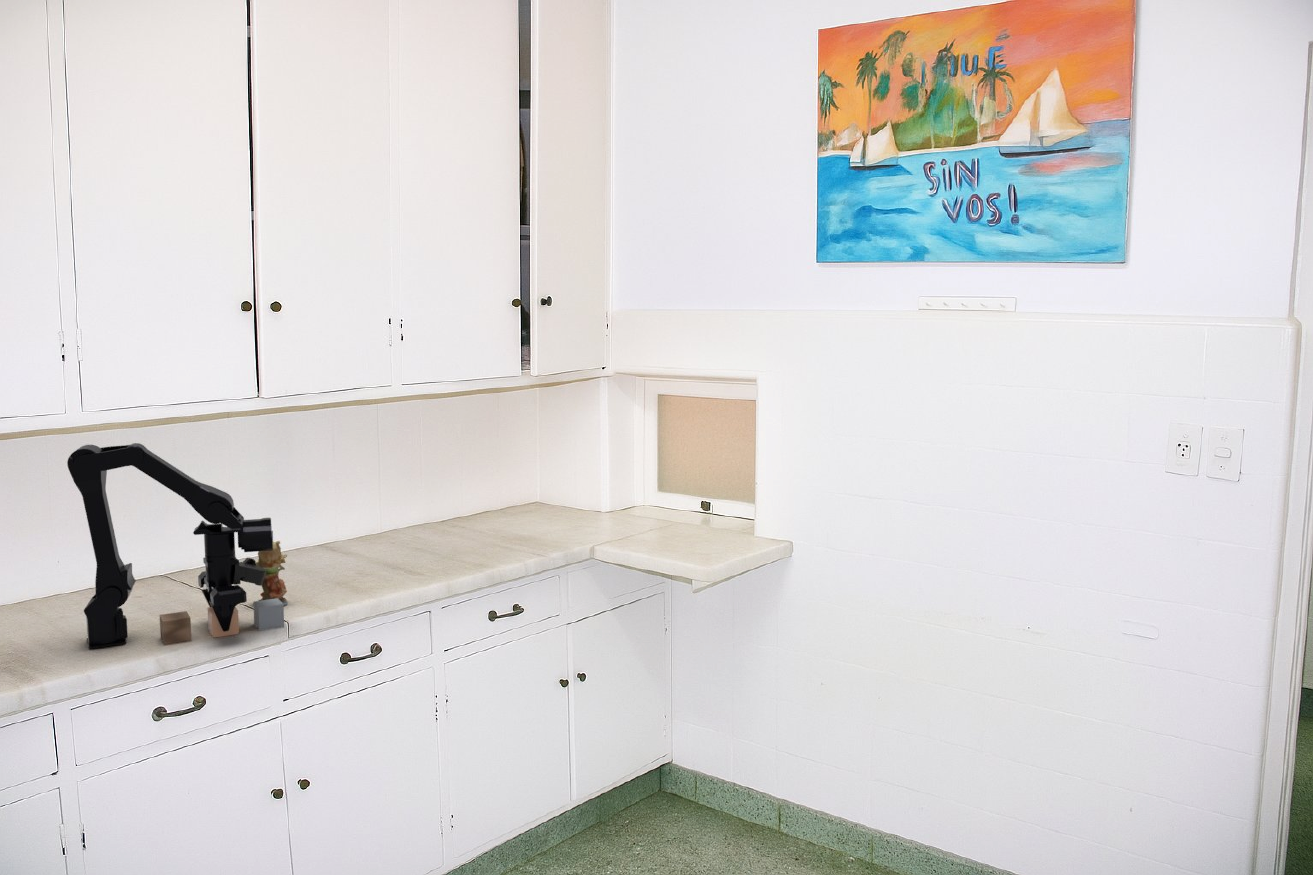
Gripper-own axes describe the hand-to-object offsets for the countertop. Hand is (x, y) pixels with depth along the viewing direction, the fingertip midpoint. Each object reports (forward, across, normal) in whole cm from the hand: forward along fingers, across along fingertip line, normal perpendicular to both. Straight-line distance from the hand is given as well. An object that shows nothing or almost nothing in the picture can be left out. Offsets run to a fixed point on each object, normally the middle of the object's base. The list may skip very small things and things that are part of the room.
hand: (223, 627), depth 211 cm
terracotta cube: (+1, 0, 0) cm, 1 cm away
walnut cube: (+1, 0, +9) cm, 9 cm away
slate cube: (+1, 0, -9) cm, 9 cm away
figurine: (+1, +15, -12) cm, 19 cm away
